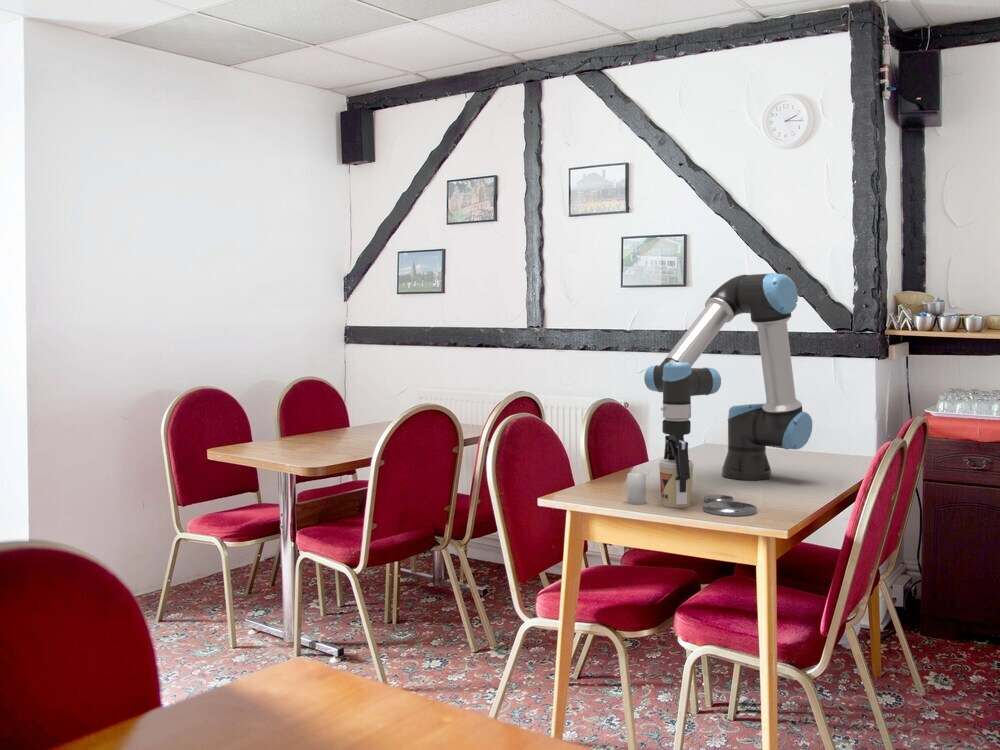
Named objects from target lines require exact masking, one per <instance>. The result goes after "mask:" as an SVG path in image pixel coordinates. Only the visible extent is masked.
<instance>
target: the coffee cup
mask: <svg viewBox="0 0 1000 750" xmlns="http://www.w3.org/2000/svg"><path fill="white" fill-rule="evenodd" d="M694 464H695V463H693V460H690V459H689V471H690V479H688V480H687V504H676V480H675V478H676V477H678V476H677V469H676V463H675V460H668V459H664V458H663V459H661V460H659V463H658V467H659V482H660V483H659V485H660V499H661V505H662V506H664V507H667V508H677V509H678V508H679V509H680V508H688V507H690V506H691V501H692V500H691V499H692V497H691V496H692V487H693V474H694V473H693V471H694Z"/></svg>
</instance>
